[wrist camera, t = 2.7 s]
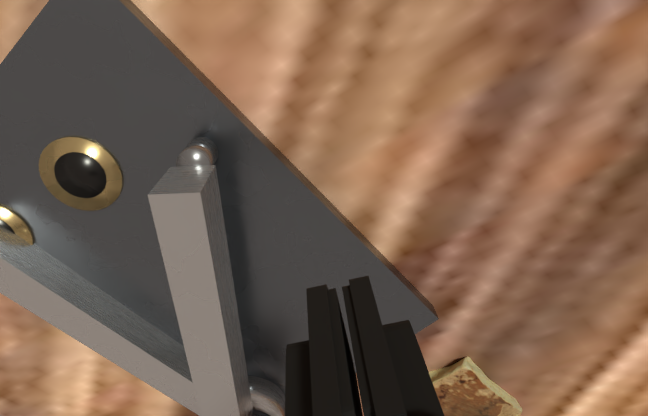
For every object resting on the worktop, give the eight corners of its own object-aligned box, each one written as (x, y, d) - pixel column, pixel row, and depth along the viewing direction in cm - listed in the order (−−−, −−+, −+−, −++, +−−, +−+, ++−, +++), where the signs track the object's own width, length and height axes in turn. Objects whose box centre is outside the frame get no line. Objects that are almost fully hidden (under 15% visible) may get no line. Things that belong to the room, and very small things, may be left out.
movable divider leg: (287, 432, 24) (284, 512, 20) (211, 436, 24) (194, 518, 20) (257, 134, 16) (243, 174, 12) (143, 139, 16) (92, 181, 12)
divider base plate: (433, 306, 22) (449, 343, 19) (249, 427, 26) (244, 471, 23) (93, -37, 14) (51, -45, 12) (-96, 206, 18) (-158, 237, 16)
